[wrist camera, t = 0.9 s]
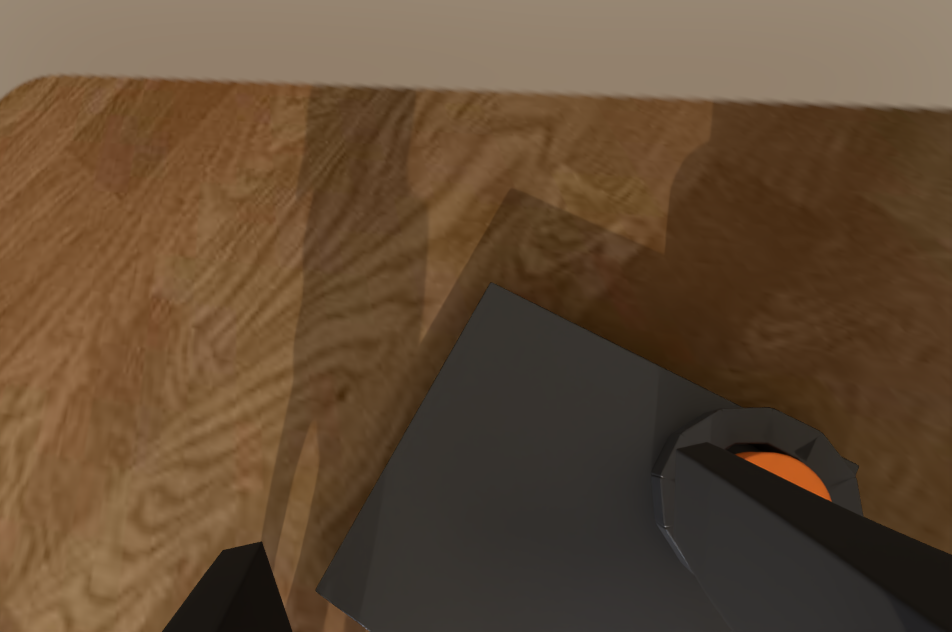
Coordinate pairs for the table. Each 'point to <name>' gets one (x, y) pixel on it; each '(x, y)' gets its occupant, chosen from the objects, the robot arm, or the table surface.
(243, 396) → the table surface
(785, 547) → the robot arm
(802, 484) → the button
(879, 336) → the table surface
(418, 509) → the scale
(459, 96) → the table surface
